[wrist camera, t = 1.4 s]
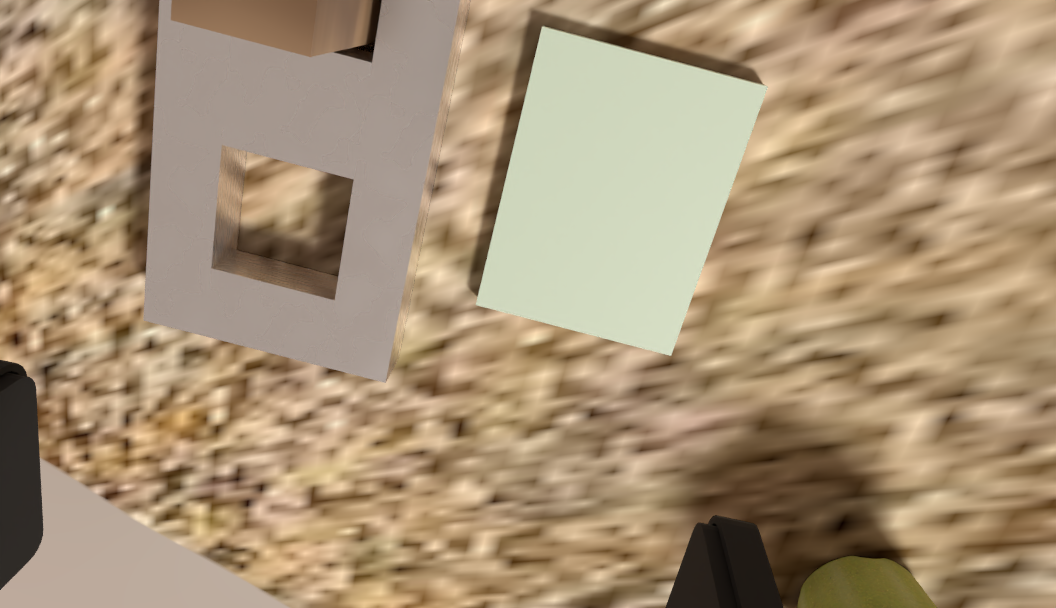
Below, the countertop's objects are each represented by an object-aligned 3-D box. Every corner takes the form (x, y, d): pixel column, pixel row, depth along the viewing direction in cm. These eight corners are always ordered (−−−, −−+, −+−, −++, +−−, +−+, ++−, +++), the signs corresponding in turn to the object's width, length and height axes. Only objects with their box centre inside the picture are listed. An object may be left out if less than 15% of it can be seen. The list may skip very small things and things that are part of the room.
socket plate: (208, -247, 27) (172, -269, 25) (504, -167, 28) (495, -182, 25) (172, 299, 36) (143, 320, 34) (399, 357, 36) (385, 382, 34)
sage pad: (543, 25, 30) (542, 26, 29) (763, 84, 30) (767, 86, 29) (478, 298, 35) (475, 304, 34) (669, 348, 35) (671, 355, 34)
